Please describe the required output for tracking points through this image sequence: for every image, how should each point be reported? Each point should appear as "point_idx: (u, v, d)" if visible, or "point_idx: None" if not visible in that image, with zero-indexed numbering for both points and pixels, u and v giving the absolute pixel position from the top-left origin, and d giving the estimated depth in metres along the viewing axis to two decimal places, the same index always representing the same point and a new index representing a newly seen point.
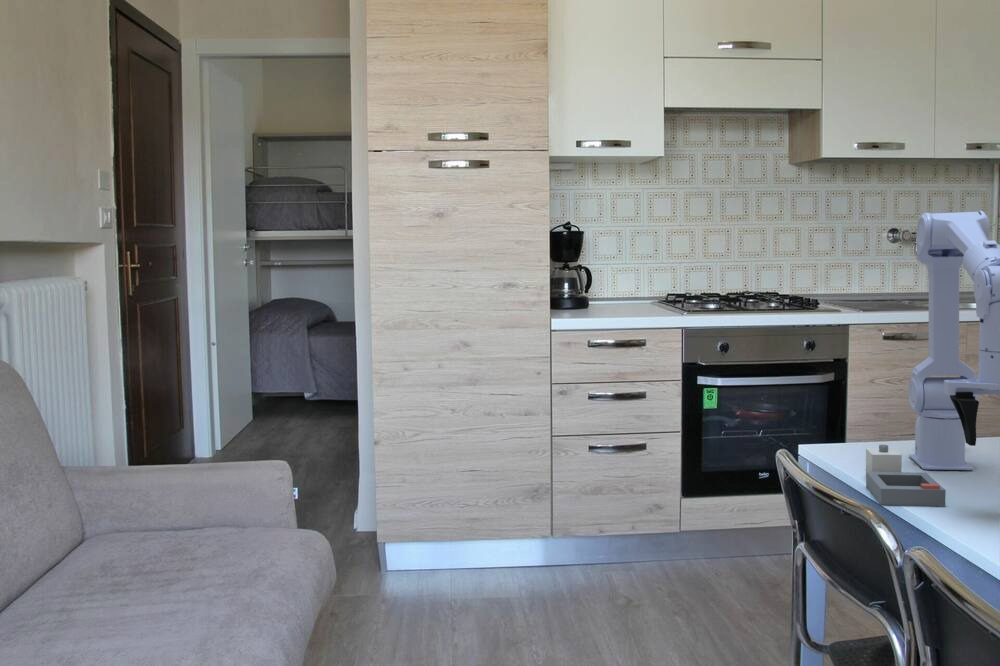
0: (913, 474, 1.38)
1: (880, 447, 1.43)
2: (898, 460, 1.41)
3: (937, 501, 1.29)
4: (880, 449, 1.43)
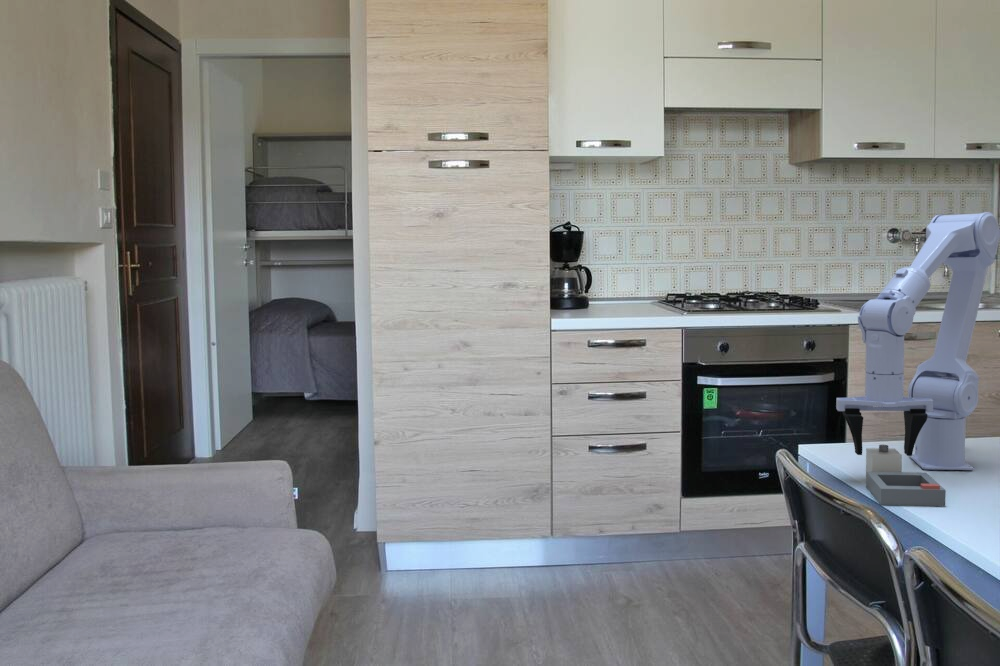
0: (913, 474, 1.38)
1: (880, 447, 1.43)
2: (898, 460, 1.41)
3: (937, 501, 1.29)
4: (880, 449, 1.43)
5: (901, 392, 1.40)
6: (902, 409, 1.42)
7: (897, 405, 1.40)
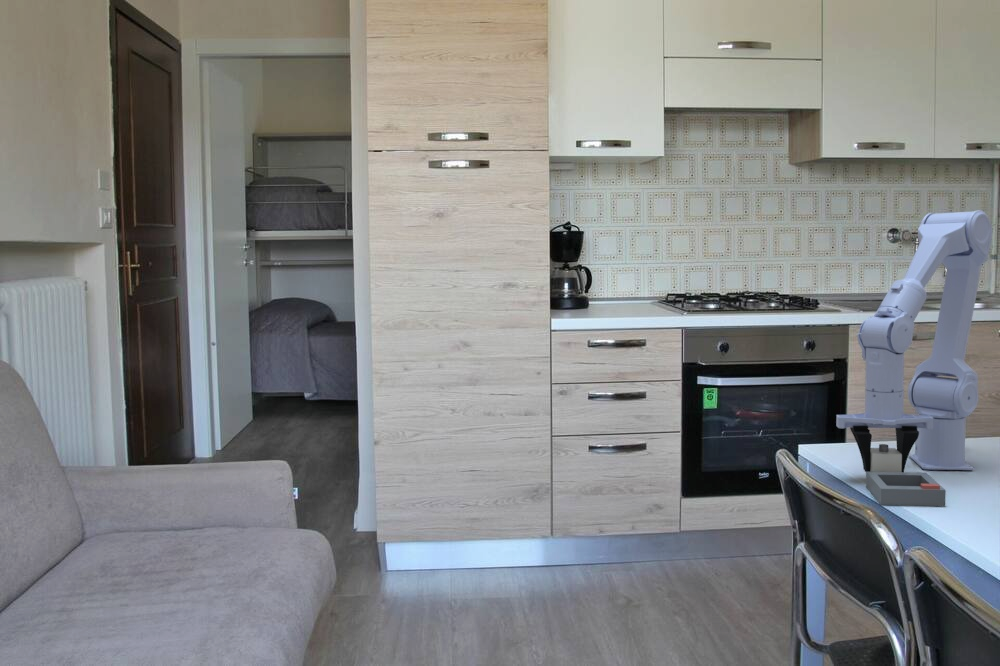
0: (913, 474, 1.38)
1: (880, 447, 1.43)
2: (898, 459, 1.41)
3: (937, 501, 1.29)
4: (880, 448, 1.43)
5: (901, 409, 1.40)
6: (902, 426, 1.42)
7: (897, 423, 1.40)
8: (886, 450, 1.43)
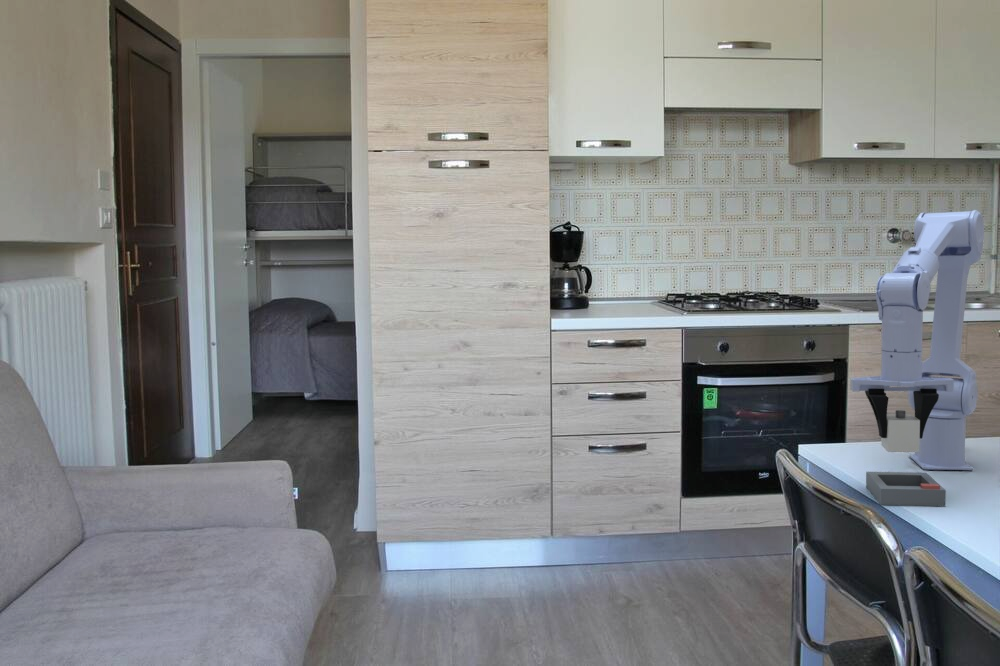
0: (913, 474, 1.38)
1: (897, 413, 1.35)
2: (916, 426, 1.33)
3: (937, 501, 1.29)
4: (897, 415, 1.35)
5: (919, 371, 1.32)
6: None
7: (915, 384, 1.32)
8: (903, 416, 1.35)
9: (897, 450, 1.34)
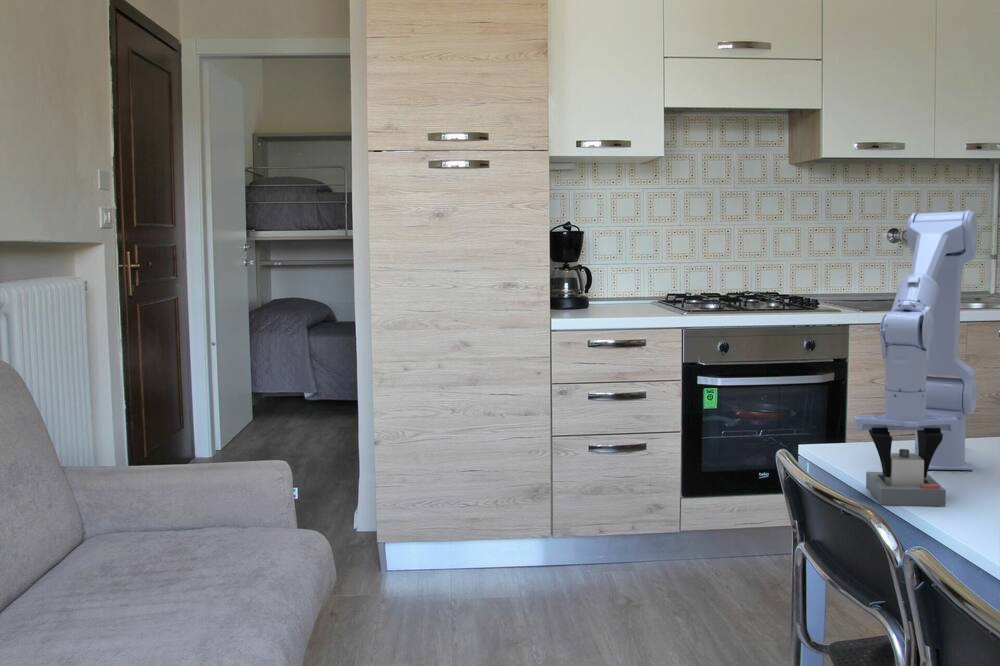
0: None
1: (901, 452, 1.34)
2: (920, 465, 1.32)
3: (937, 501, 1.29)
4: (901, 454, 1.34)
5: (923, 410, 1.31)
6: None
7: (919, 424, 1.31)
8: (907, 455, 1.34)
9: None
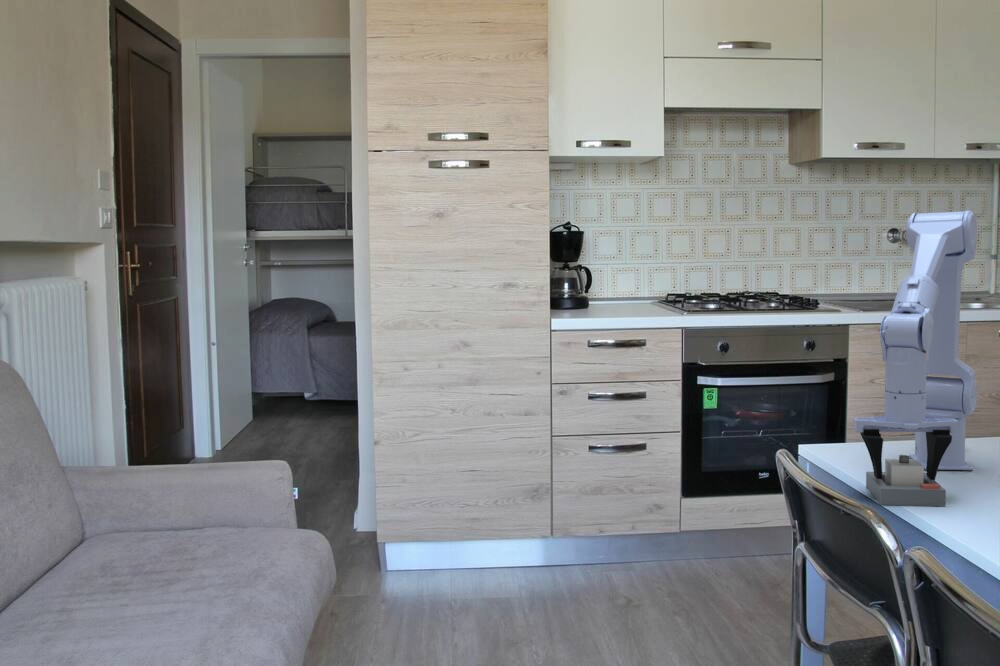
0: None
1: (900, 458, 1.34)
2: (920, 472, 1.32)
3: (937, 501, 1.29)
4: (900, 460, 1.34)
5: (923, 412, 1.31)
6: (924, 430, 1.33)
7: (919, 426, 1.31)
8: (907, 461, 1.34)
9: None
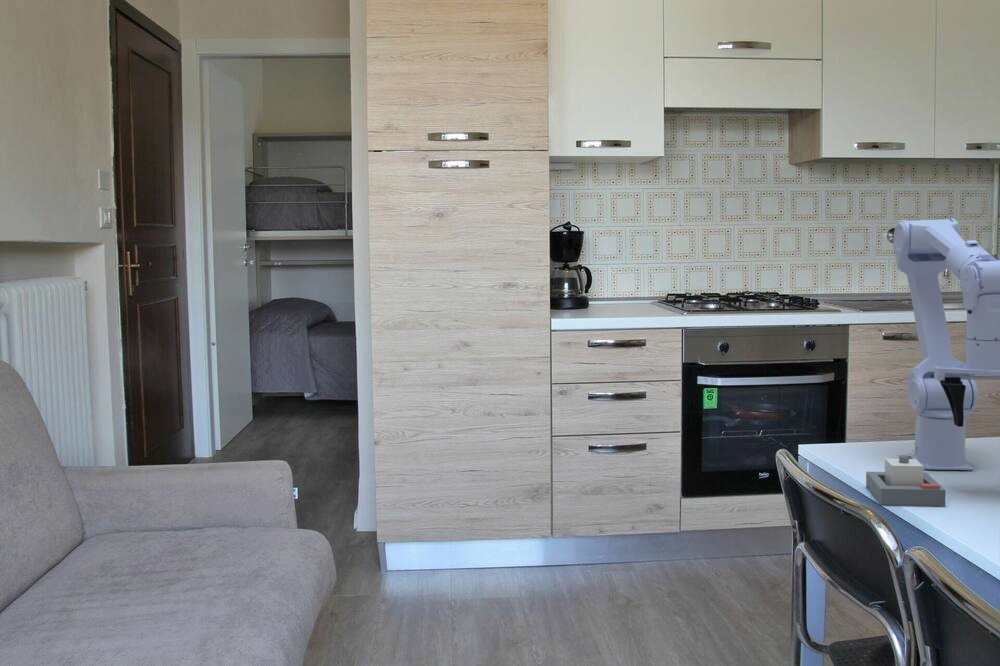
0: None
1: (900, 458, 1.34)
2: (920, 472, 1.32)
3: (937, 501, 1.29)
4: (900, 460, 1.34)
5: None
6: None
7: None
8: (907, 461, 1.34)
9: None
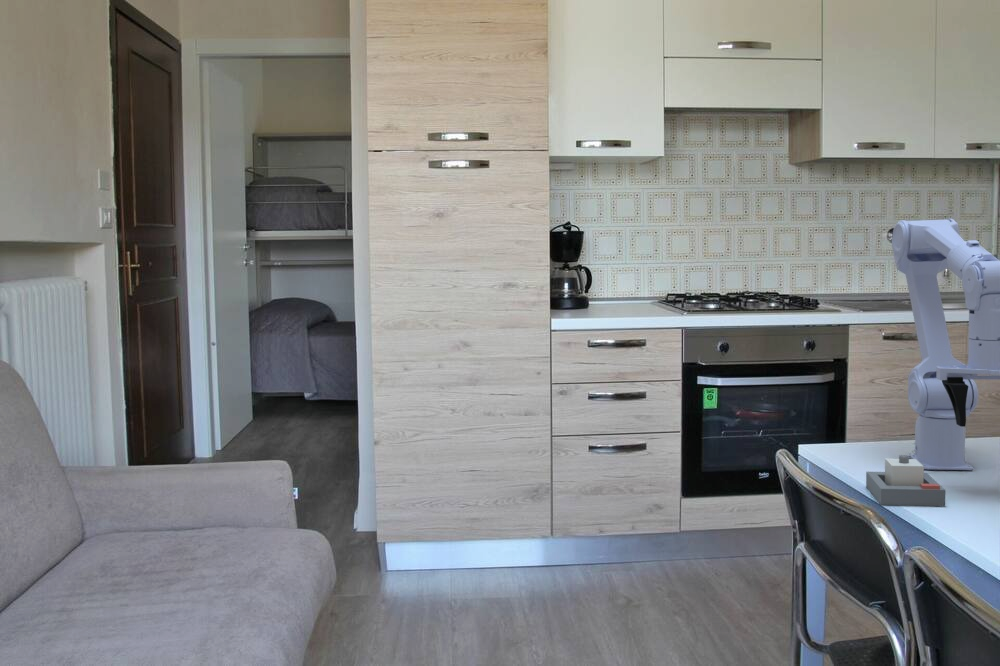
0: None
1: (900, 458, 1.34)
2: (920, 472, 1.32)
3: (937, 501, 1.29)
4: (900, 460, 1.34)
5: None
6: None
7: None
8: (907, 461, 1.34)
9: None
